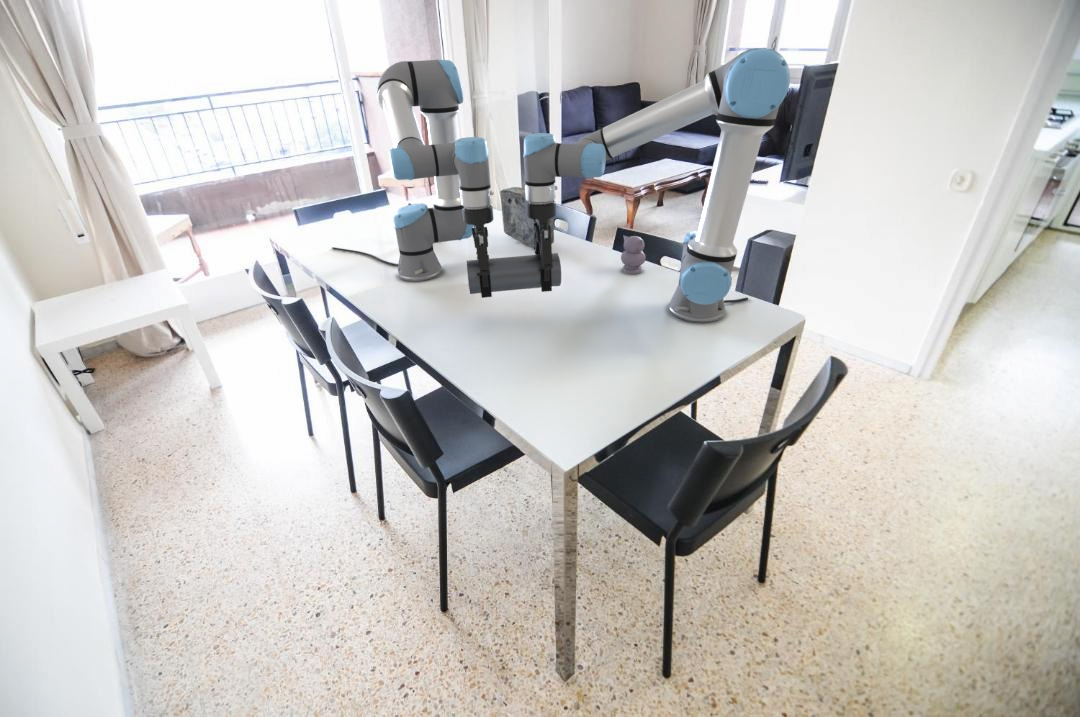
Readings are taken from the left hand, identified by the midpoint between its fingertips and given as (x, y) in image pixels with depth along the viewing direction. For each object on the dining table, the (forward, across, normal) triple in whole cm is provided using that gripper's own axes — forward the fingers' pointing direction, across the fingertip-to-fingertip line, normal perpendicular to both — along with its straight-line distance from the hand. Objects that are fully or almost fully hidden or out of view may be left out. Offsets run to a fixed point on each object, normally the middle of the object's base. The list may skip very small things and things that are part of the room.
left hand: (485, 289), depth 135 cm
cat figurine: (+11, +30, -52) cm, 61 cm away
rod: (+1, 0, -8) cm, 8 cm away
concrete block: (+11, +67, -21) cm, 71 cm away
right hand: (0, 0, -16) cm, 16 cm away
